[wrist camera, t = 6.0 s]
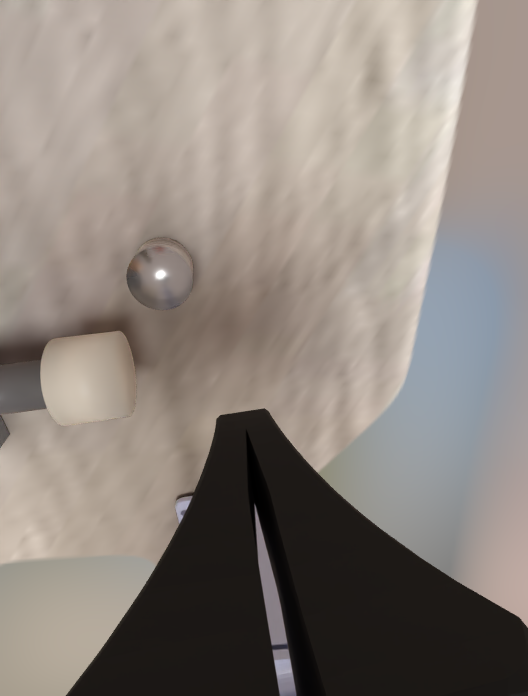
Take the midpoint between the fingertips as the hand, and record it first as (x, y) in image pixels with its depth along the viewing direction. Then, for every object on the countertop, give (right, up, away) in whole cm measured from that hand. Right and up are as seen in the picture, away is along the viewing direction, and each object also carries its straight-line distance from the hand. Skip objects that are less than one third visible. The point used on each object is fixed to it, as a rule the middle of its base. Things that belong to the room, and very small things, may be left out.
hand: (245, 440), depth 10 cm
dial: (-4, +6, +7) cm, 10 cm away
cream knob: (-10, +2, +6) cm, 12 cm away
